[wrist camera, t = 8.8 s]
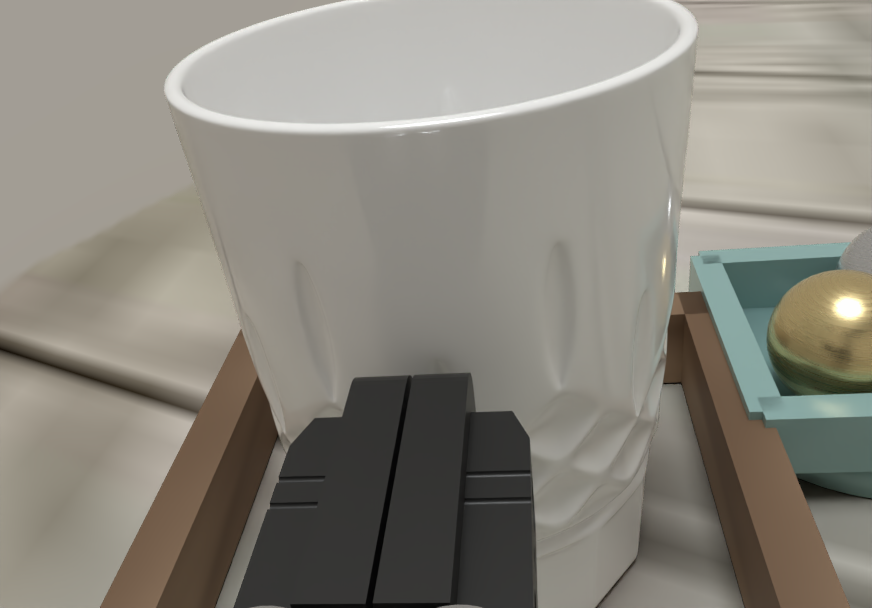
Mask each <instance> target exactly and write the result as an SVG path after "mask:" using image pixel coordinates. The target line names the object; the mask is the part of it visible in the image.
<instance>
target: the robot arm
mask: <svg viewBox="0 0 872 608" xmlns="http://www.w3.org/2000/svg"><path fill="white" fill-rule="evenodd" d="M536 560H537V557H536V523H535V508H534V493H533V478H532V463H531V448H530V437H529V436H528V434H527V433H526V431H525V430H524V428H523V427H522V425H521V423H520V422H519V420H518V419H517V417H516V416H515V414H514V413H513V411H494V412H476V407H475V398H474V389H473V381H472V376H471V373H445V374H421V375H414V376H413V378H412V376H411V375H402V376H377V377H355V378H354V379H353V381H352V383H351V386H350V390H349V393H348V397H347V401H346V404H345V408H344V411H343V415H342V417H328V418H314V419H313V420H312V422H311V423H310V424H309V425H308V426H307V427H306V428H305V429H304V430H303V431H302V433H301V434H300V435H299V436H298V437H297V438H296V439H295V440H294V441H293V442H292V443H291V445H290V446H289V449H288V452H287V455H286V458H285V461H284V463H283V466H282V469H281V472H280V475H279V483H277V484H276V487H275V489H274V492H273V495H272V498H271V501H270V510H267V513H266V515H265V518H264V521H263V524H262V527H261V530H260V533H259V536H258V539H257V542H256V544H255V547H254V550H253V553H252V556H251V559H250V562H249V565H248V568H247V570H246V573H245V576H244V579H243V582H242V585H241V588H240V591H239V594H238V596H237V599H236V602H235V605H234V608H538V595H537V561H536Z"/></svg>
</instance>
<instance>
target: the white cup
mask: <svg viewBox="0 0 872 608" xmlns="http://www.w3.org/2000/svg"><path fill="white" fill-rule="evenodd" d="M698 32H699V27H698V22H697V20H696V18H695V16H694V15H693V14H692V13H691V12H690V11H689V10H688V9H687V8H685V7H684V6H682V5H681V4H679V3H677V2H675V1H673V0H346V1H341V2H336V3H331V4H327V5H323V6H318V7H314V8H310V9H306V10H302V11H298V12H294V13H290V14H287V15H283V16H280V17H276V18H273V19H270V20H267V21H264V22H260V23H257V24H254V25H251V26H249V27H246V28H243V29H240V30H238V31H235V32H233V33H230V34H228V35H226V36H223V37H221V38H219V39H217V40H215V41H212V42H210V43H208V44H206V45H204V46H203V47H201V48H199V49H197V50H196V51H194V52H193V53H191V54H190V55H188V56H187V57H185V58H184V59H183V60H181V61H180V62H179V63H178V64H177V65H176V66H175V67H174V68H173V69H172V70H171V71H170V73H169V74H168V76H167V78H166V80H165V83H164V94H165V98H166V101H167V104H168V106H169V110H170V113H171V116H172V119H173V122H174V125H175V128H176V131H177V134H178V137H179V139H180V142H181V146H182V149H183V152H184V154H185V158H186V161H187V164H188V167H189V170H190V173H191V176H192V179H193V182H194V185H195V188H196V191H197V194H198V197H199V200H200V203H201V206H202V209H203V212H204V215H205V218H206V221H207V224H208V228H209V231H210V234H211V237H212V240H213V243H214V246H215V249H216V252H217V255H218V258H219V261H220V265H221V268H222V271H223V274H224V277H225V280H226V283H227V286H228V289H229V292H230V295H231V299H232V302H233V305H234V308H235V311H236V314H237V317H238V320H239V323H240V326H241V329H242V333H243V336H244V339H245V342H246V345H247V348H248V351H249V353H250V356H251V359H252V362H253V365H254V368H255V370H256V373H257V376H258V378H259V381H260V383H261V385H262V388H263V390H264V392H265V395H266V397H267V399H268V401H269V404H270V408H271V411H272V415H273V418H274V422H275V425H276V428H277V431H278V435H279V438H280V441H281V443H282V446H283V448H284V450H285V452H286V455H287V452H288V449H289V446H290V445H291V443H292V442H293V441H294V440H295V439H296V438H297V437H298V436H299V435H300V434H301V433H302V431H303V430H304V429H305V428H306V427H307V426H308V425H309V424H310V423H311V422H312V420H313V419H314V418H328V417H342V415H343V411H344V408H345V404H346V401H347V397H348V393H349V390H350V386H351V383H352V381H353V379H354V378H355V377H377V376H402V375H411V376H412V378H413V376H414V375H421V374H445V373H471V376H472V381H473V389H474V398H475V407H476V412H494V411H513V413H514V414H515V416H516V417H517V419H518V420H519V422H520V423H521V425H522V427H523V428H524V430H525V431H526V433H527V434H528V436H529V437H530V448H531V463H532V478H533V493H534V508H535V523H536V557H537V560H536V561H537V595H538V608H595V607H596V606H597V605H598V604H599V602H600V601H601V600H602V599H603V598H604V596H605V595H606V594H607V593H608V591H609V590H610V589H611V588H612V587H613V585H614V584H615V583H616V582H617V581H618V579H619V578H620V577H621V576H622V574H623V573H624V572H625V571H626V570H627V568H628V567H629V566H630V565H631V564H632V562H633V561H634V560H635V559H636V557H637V554H638V547H639V537H640V528H641V518H642V508H643V499H644V488H645V475H646V467H647V462H648V457H649V450H650V444H651V441H652V439H653V436H654V434H655V432H656V430H657V428H658V422H659V408H660V395H661V390H662V385H663V379H664V373H665V367H666V358H667V333H668V325H669V320H670V316H671V310H672V305H673V299H674V293H675V278H676V262H677V247H678V235H679V224H680V213H681V202H682V192H683V182H684V172H685V162H686V154H687V147H688V137H689V126H690V115H691V105H692V94H693V84H694V73H695V63H696V53H697V42H698Z"/></svg>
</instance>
